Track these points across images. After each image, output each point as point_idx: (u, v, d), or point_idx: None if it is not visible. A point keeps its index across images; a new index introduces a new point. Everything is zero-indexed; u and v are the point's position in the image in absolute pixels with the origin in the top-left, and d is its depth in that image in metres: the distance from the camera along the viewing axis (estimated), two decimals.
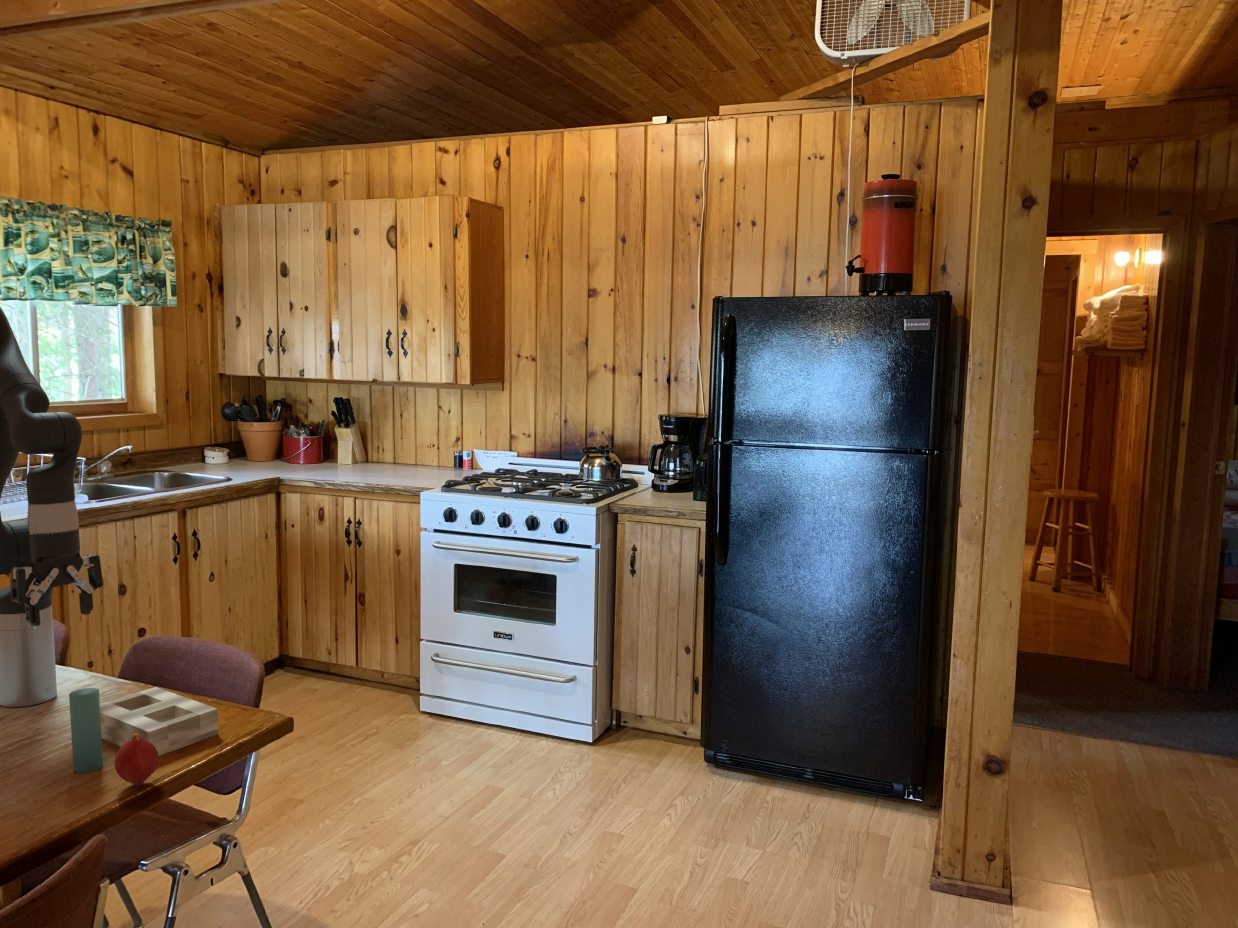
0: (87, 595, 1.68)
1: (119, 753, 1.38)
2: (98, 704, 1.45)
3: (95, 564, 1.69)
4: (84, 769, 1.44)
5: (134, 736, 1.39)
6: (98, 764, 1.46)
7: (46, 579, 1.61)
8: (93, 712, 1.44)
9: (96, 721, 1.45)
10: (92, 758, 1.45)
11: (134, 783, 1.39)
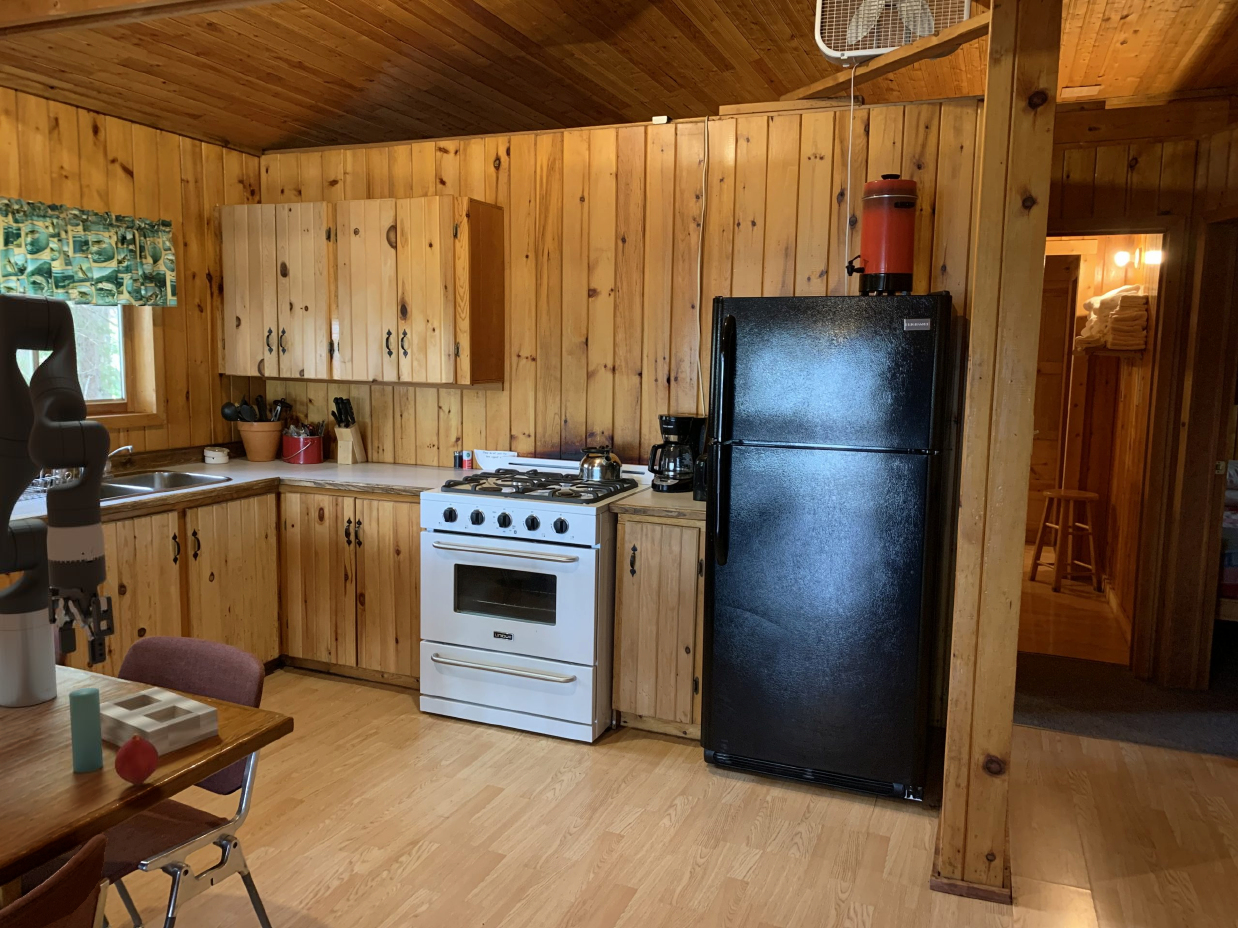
0: None
1: (119, 753, 1.38)
2: (98, 704, 1.45)
3: None
4: (84, 769, 1.44)
5: (134, 736, 1.39)
6: (98, 764, 1.46)
7: None
8: (93, 712, 1.44)
9: (96, 721, 1.45)
10: (92, 758, 1.45)
11: (134, 783, 1.39)
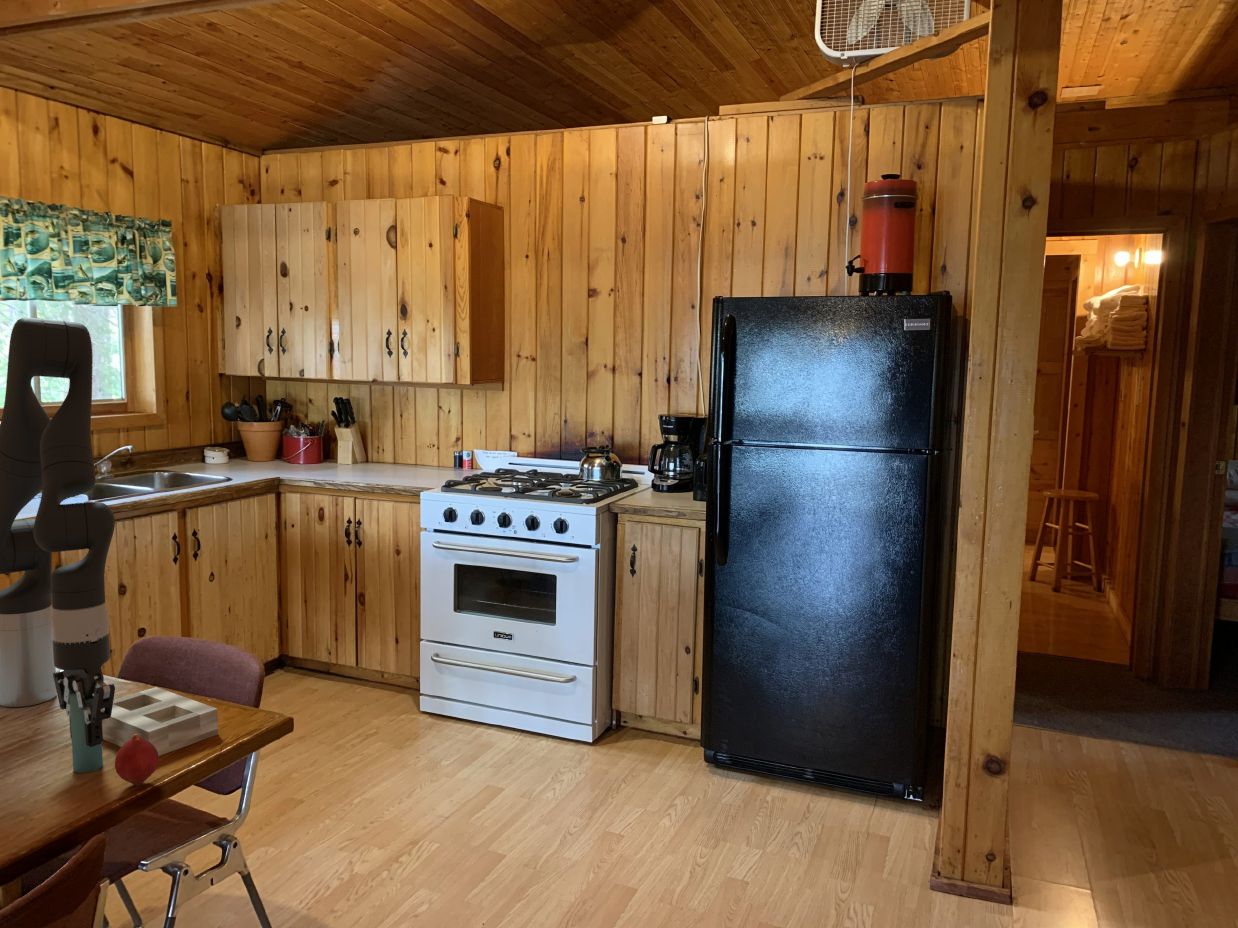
0: None
1: (119, 753, 1.38)
2: None
3: None
4: (84, 769, 1.44)
5: (134, 736, 1.39)
6: (98, 764, 1.46)
7: None
8: None
9: None
10: (92, 758, 1.45)
11: (134, 783, 1.39)
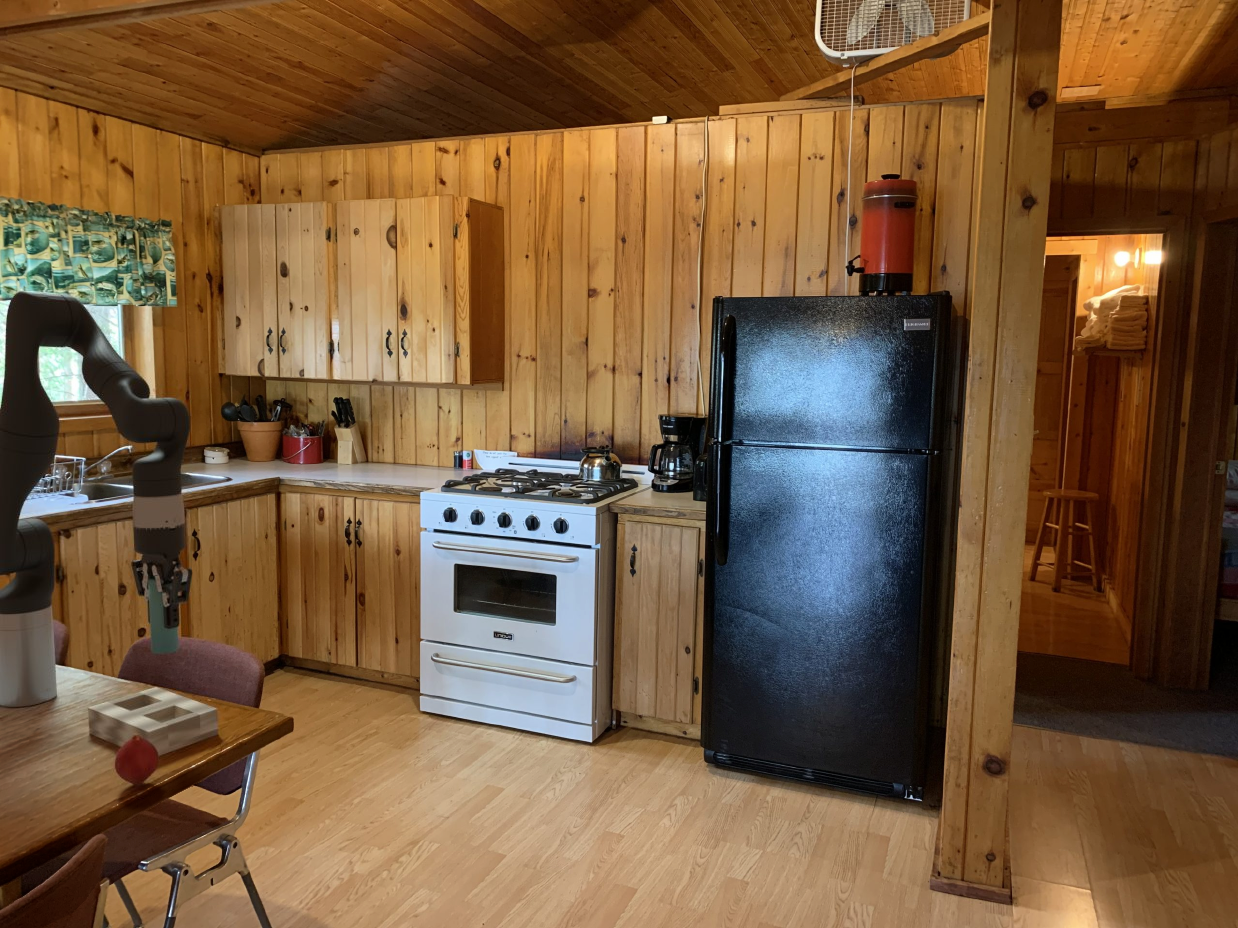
0: None
1: (119, 753, 1.38)
2: None
3: None
4: (162, 650, 1.53)
5: (134, 736, 1.39)
6: (174, 647, 1.55)
7: None
8: None
9: None
10: (170, 640, 1.54)
11: (134, 783, 1.39)
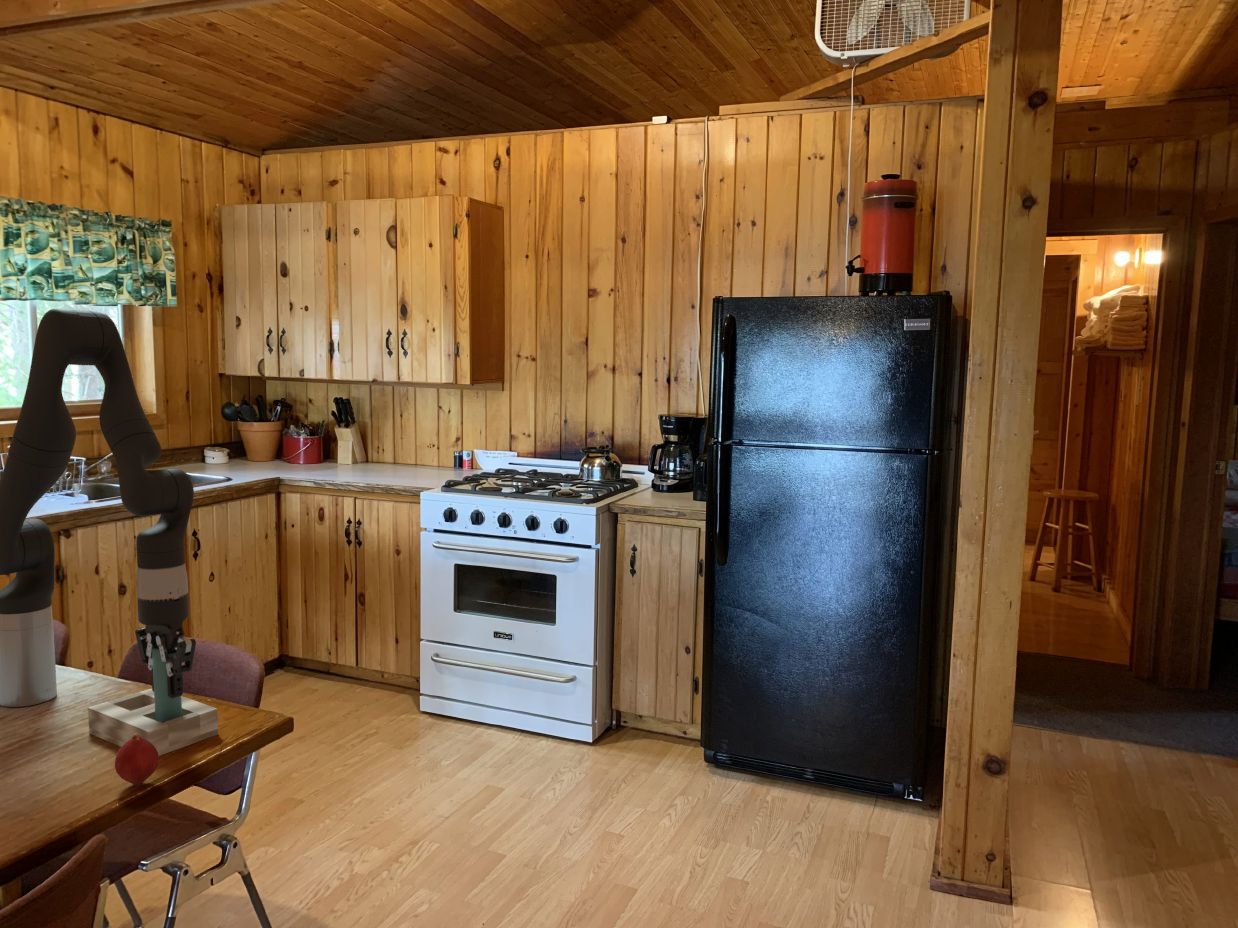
0: None
1: (119, 753, 1.38)
2: None
3: None
4: (166, 719, 1.55)
5: (134, 736, 1.39)
6: (178, 715, 1.56)
7: None
8: None
9: None
10: (174, 709, 1.55)
11: (134, 783, 1.39)
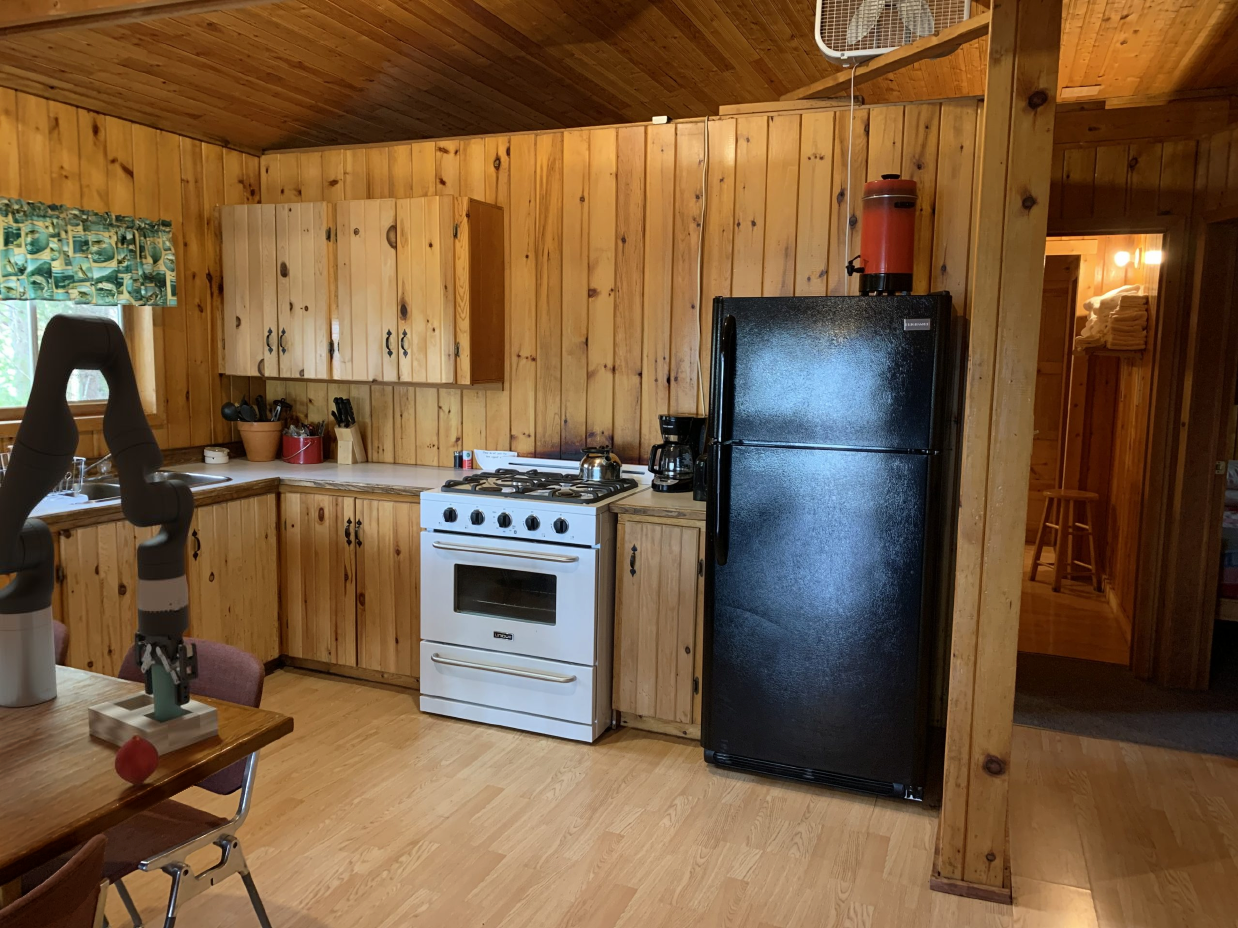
0: None
1: (119, 753, 1.38)
2: None
3: None
4: None
5: (134, 736, 1.39)
6: None
7: None
8: (174, 683, 1.55)
9: None
10: None
11: (134, 783, 1.39)
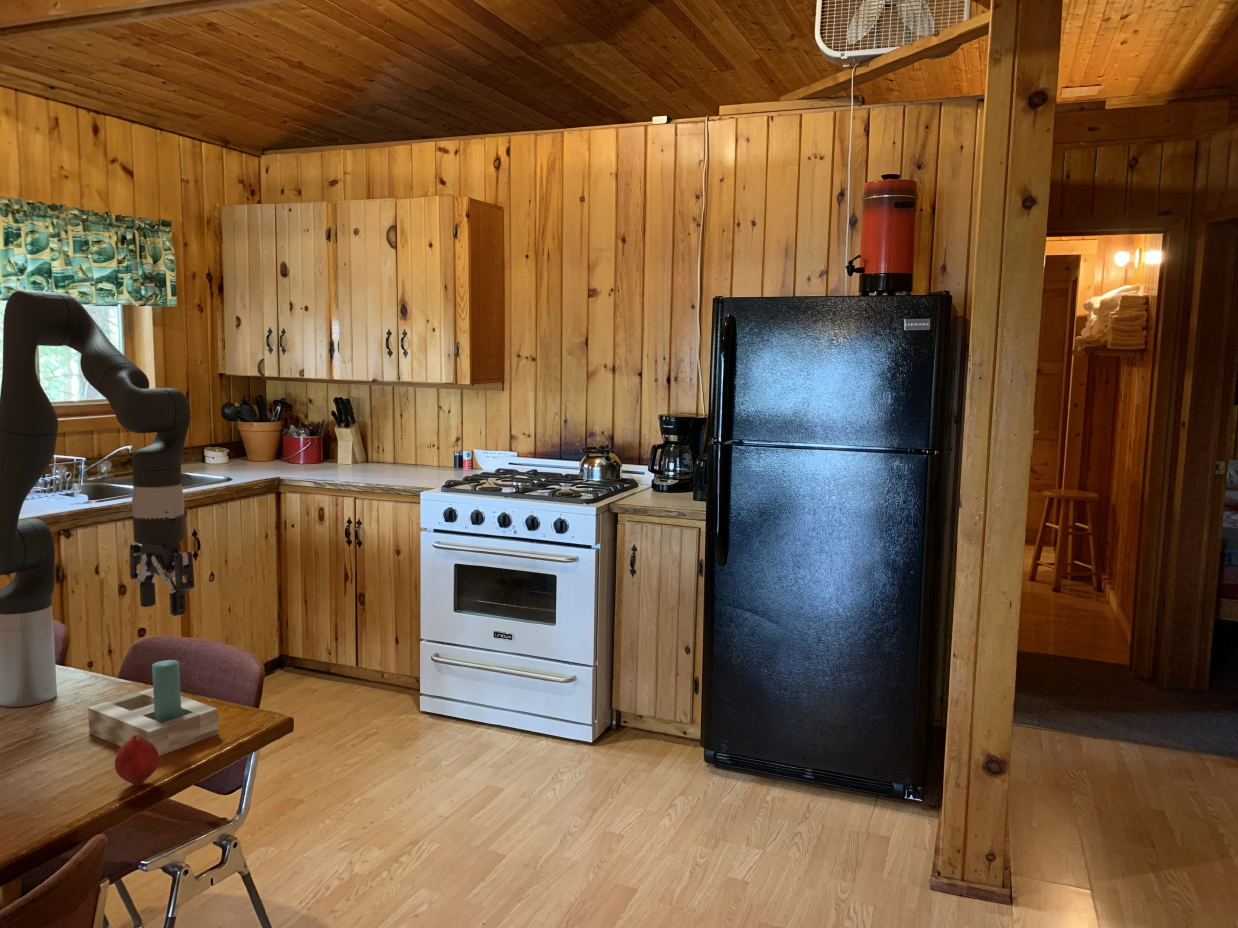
0: None
1: (119, 753, 1.38)
2: (178, 675, 1.56)
3: None
4: None
5: (134, 736, 1.39)
6: None
7: None
8: (174, 682, 1.55)
9: (176, 690, 1.55)
10: None
11: (134, 783, 1.39)
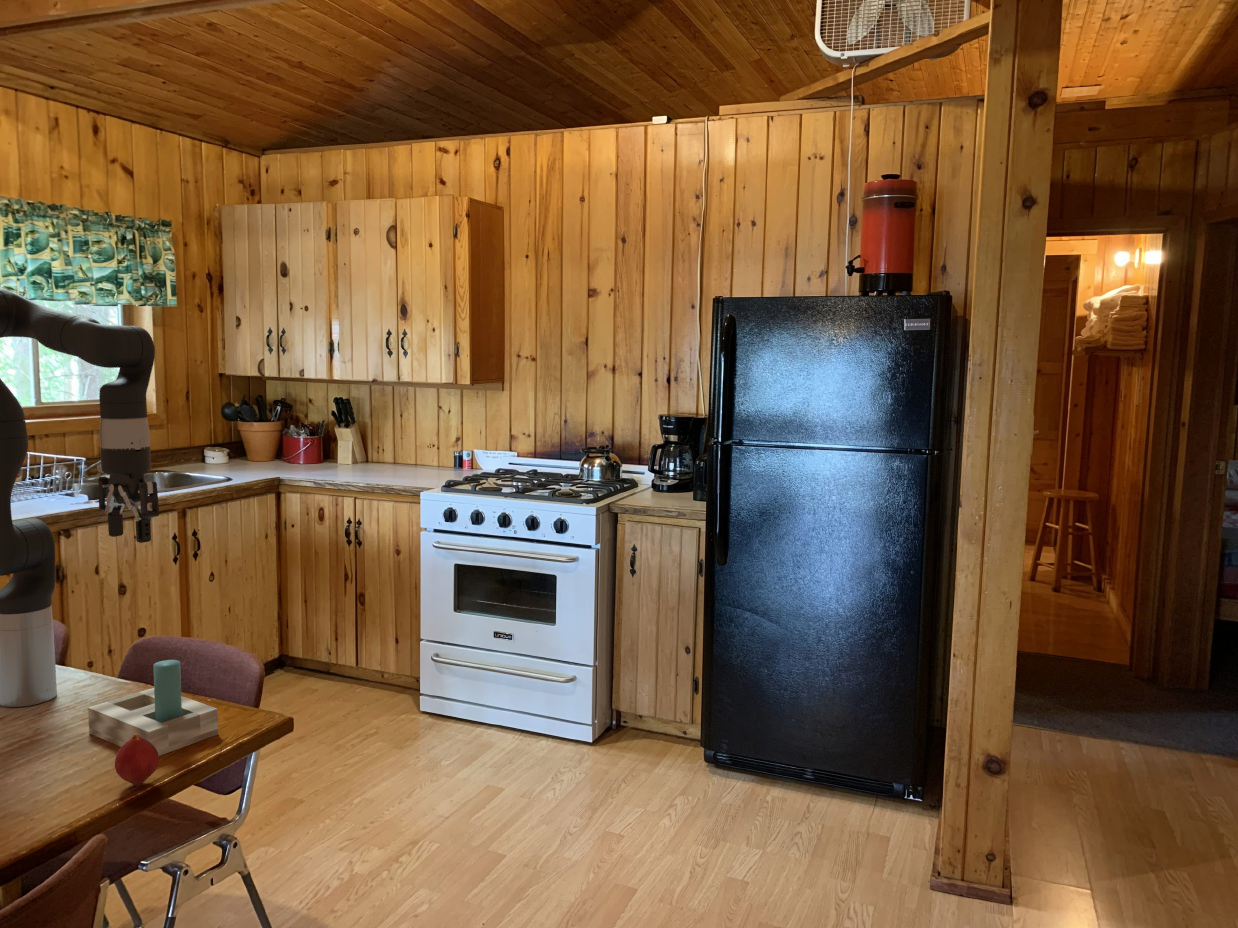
0: None
1: (119, 753, 1.38)
2: (179, 675, 1.56)
3: None
4: None
5: (134, 736, 1.39)
6: None
7: None
8: (175, 682, 1.55)
9: (177, 690, 1.55)
10: None
11: (134, 783, 1.39)
